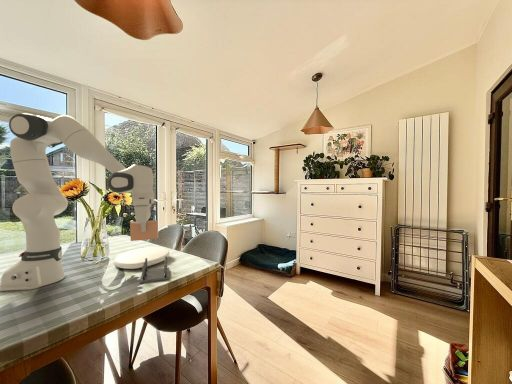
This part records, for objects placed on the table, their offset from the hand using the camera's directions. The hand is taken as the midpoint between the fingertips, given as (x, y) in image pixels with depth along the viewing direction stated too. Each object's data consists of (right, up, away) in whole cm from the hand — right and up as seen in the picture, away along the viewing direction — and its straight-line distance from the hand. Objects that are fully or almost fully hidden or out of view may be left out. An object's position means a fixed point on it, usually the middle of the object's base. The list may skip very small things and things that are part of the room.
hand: (144, 230), depth 103 cm
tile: (0, -4, 0) cm, 4 cm away
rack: (+3, -22, +4) cm, 23 cm away
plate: (-13, -22, +24) cm, 35 cm away
